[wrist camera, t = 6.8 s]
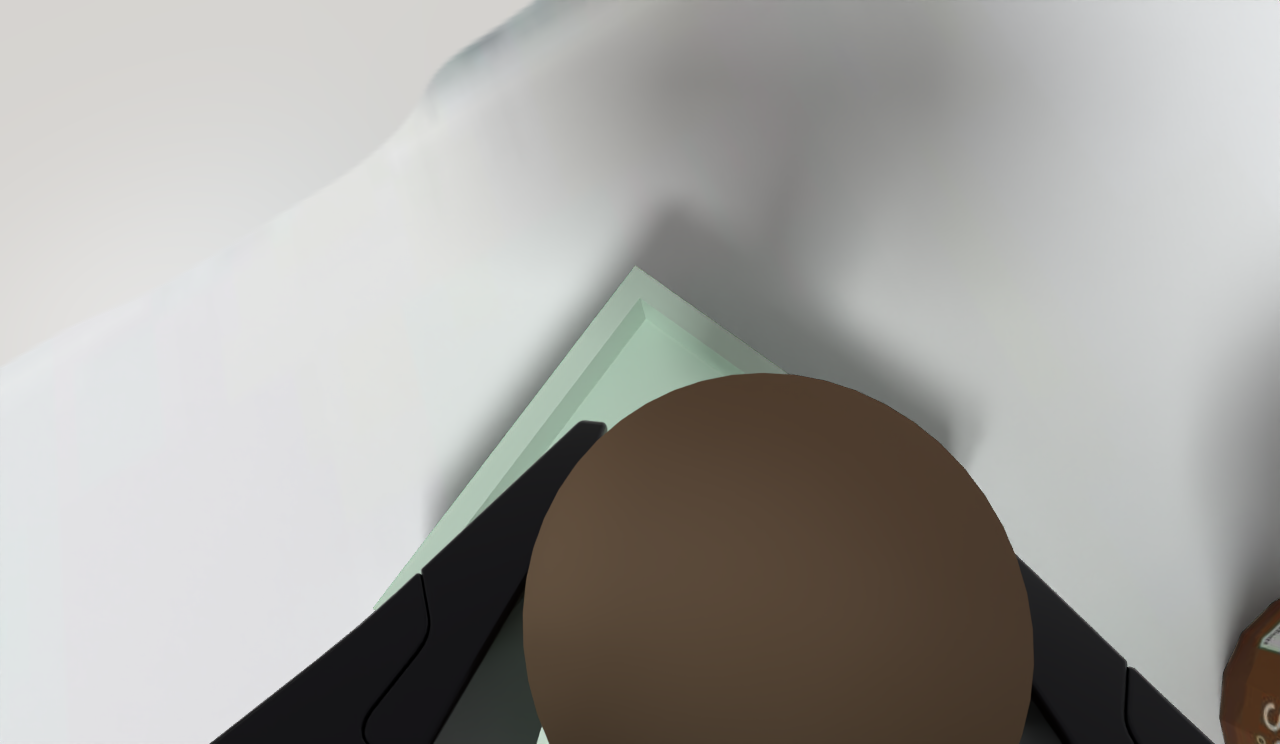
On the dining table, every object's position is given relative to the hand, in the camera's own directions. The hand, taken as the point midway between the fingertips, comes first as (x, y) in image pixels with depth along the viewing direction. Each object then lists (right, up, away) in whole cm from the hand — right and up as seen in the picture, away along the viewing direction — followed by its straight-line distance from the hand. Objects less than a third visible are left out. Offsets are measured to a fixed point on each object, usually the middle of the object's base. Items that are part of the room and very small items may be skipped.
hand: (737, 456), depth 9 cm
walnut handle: (0, -2, +6) cm, 7 cm away
